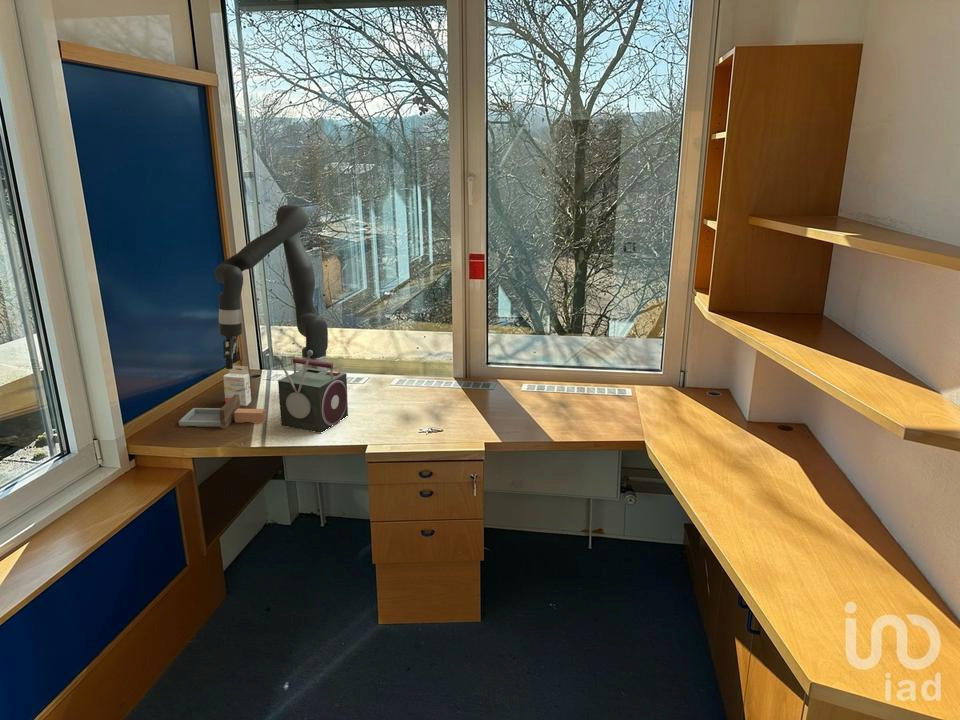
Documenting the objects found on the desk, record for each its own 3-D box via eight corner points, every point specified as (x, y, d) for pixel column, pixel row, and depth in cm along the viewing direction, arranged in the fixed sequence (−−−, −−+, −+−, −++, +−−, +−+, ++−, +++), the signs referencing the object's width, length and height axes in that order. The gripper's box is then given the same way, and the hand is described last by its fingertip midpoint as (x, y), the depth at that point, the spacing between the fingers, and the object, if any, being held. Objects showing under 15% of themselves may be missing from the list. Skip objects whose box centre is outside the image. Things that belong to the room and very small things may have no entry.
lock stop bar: (266, 419, 241) (265, 409, 240) (262, 423, 237) (261, 413, 236) (239, 418, 241) (238, 408, 240) (235, 422, 238) (234, 412, 237)
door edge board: (240, 412, 247) (239, 394, 245) (225, 428, 232) (223, 410, 230) (236, 411, 247) (234, 394, 245) (221, 428, 232) (219, 410, 230)
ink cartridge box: (224, 405, 253) (221, 368, 249) (230, 400, 258) (227, 364, 254) (246, 406, 253) (243, 369, 248) (252, 401, 257) (249, 365, 253)
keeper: (234, 413, 245) (234, 408, 245) (222, 427, 233) (221, 422, 232) (193, 412, 245) (193, 408, 245) (179, 426, 233) (178, 421, 232)
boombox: (351, 415, 246) (348, 338, 237) (319, 436, 228) (314, 352, 219) (310, 408, 252) (305, 332, 244) (275, 427, 234) (269, 346, 225)
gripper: (237, 325, 226) (239, 371, 230) (245, 317, 240) (246, 360, 244) (214, 325, 225) (216, 370, 229) (223, 316, 238) (224, 360, 243)
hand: (231, 365), depth 236 cm, fingers open, 8 cm apart
